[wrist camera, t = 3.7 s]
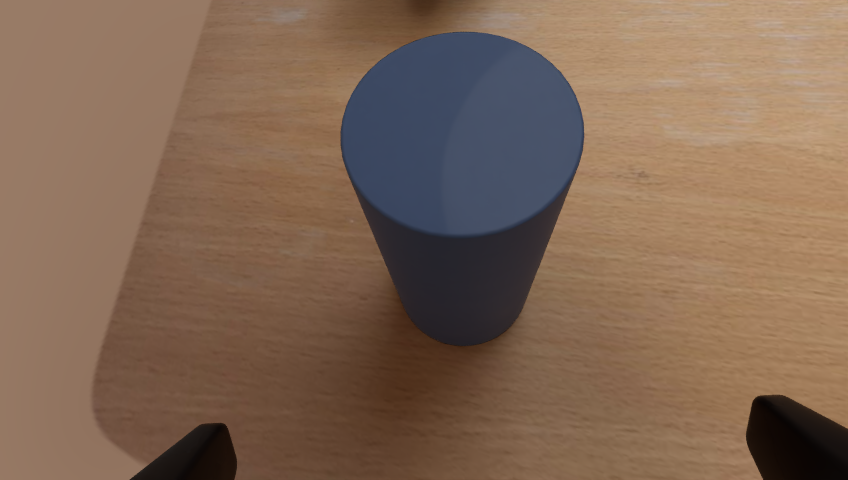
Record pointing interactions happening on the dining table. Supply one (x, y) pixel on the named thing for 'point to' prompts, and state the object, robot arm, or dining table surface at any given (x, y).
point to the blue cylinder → (462, 175)
